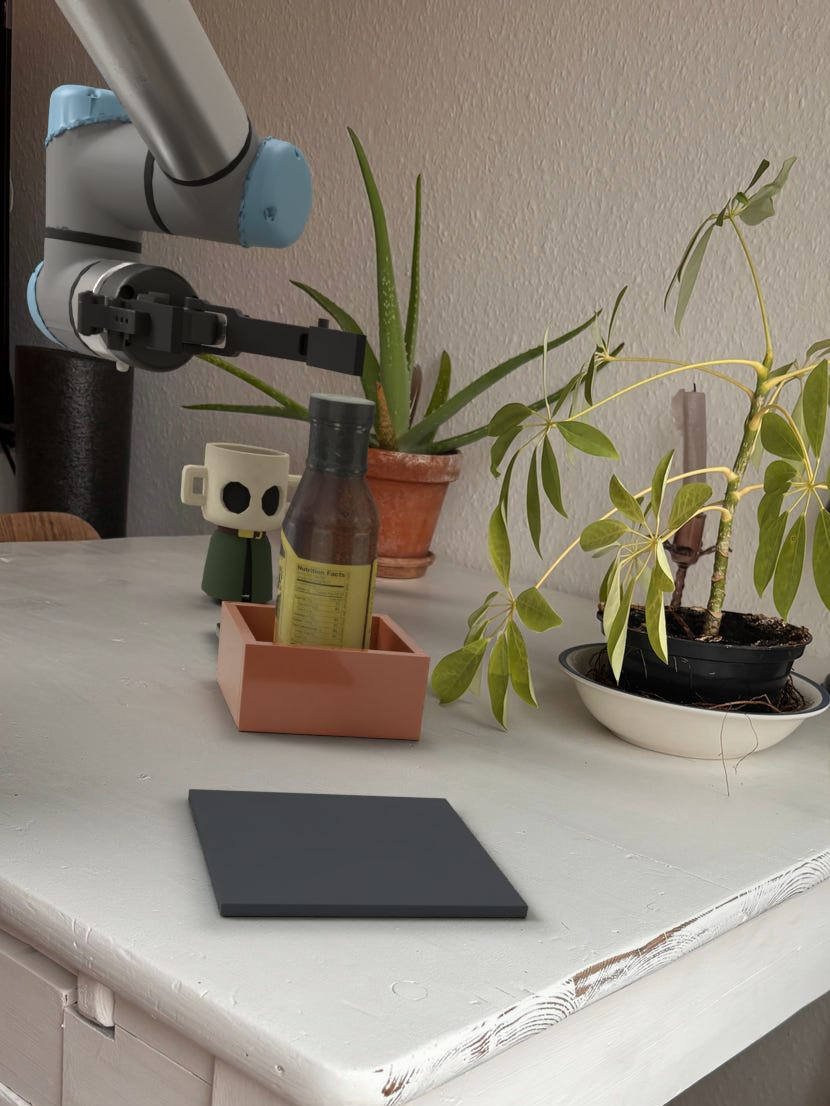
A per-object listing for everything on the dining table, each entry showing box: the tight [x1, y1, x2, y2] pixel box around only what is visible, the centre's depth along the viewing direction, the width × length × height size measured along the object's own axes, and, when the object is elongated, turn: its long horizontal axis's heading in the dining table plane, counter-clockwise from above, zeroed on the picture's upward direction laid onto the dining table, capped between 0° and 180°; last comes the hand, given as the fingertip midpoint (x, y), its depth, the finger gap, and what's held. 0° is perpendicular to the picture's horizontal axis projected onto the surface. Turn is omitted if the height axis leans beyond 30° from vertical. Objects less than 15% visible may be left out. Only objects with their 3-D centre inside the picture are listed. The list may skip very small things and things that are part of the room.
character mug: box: [180, 442, 302, 604], centre depth 111 cm, size 11×7×13 cm, turn 115°
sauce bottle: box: [273, 392, 381, 650], centre depth 82 cm, size 6×6×20 cm
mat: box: [188, 788, 529, 918], centre depth 63 cm, size 14×14×1 cm
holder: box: [215, 600, 431, 741], centre depth 85 cm, size 12×12×6 cm
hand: (273, 343), depth 85 cm, fingers open, 13 cm apart
